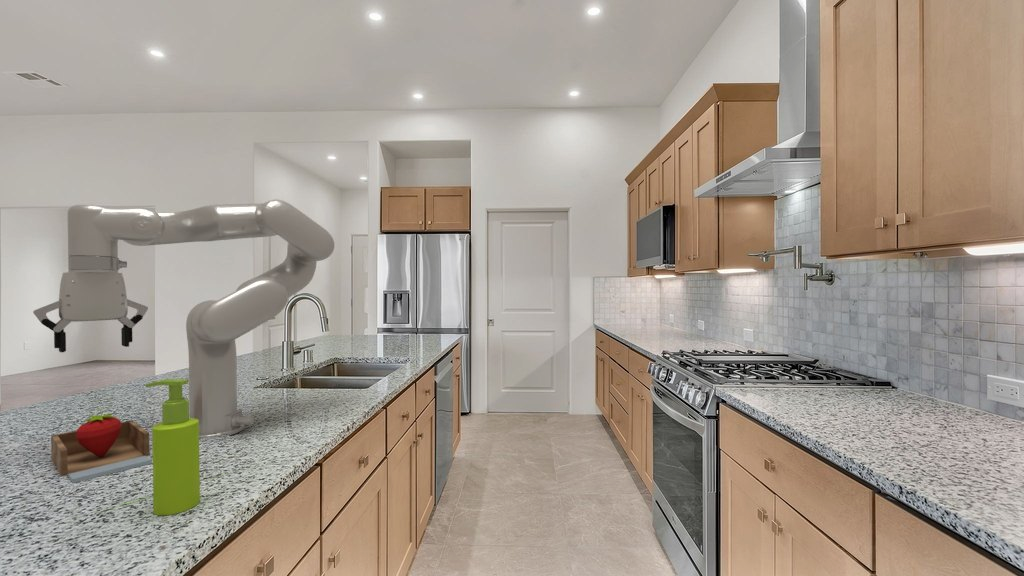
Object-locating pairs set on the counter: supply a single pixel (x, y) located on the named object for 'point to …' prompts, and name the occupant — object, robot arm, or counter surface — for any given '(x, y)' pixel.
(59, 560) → the counter surface
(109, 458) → the crate
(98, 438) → the strawberry
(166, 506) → the soap dispenser
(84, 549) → the counter surface
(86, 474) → the panel
